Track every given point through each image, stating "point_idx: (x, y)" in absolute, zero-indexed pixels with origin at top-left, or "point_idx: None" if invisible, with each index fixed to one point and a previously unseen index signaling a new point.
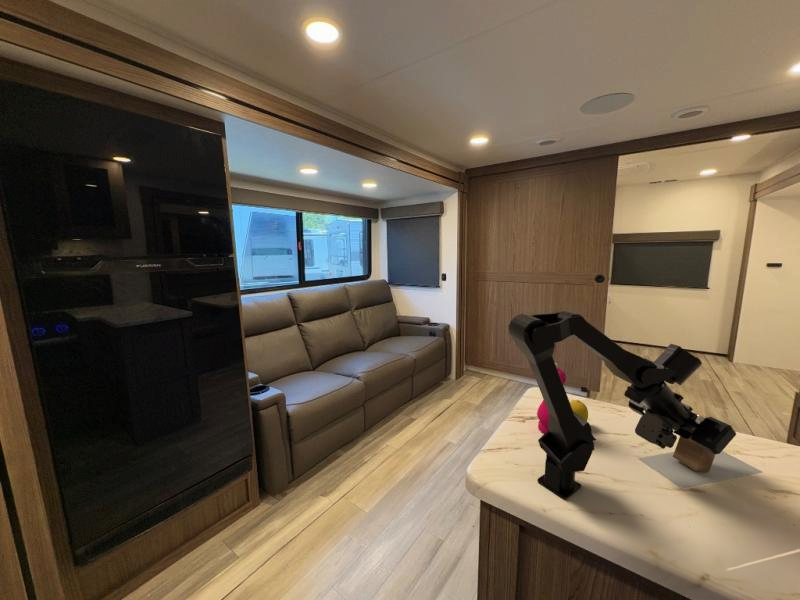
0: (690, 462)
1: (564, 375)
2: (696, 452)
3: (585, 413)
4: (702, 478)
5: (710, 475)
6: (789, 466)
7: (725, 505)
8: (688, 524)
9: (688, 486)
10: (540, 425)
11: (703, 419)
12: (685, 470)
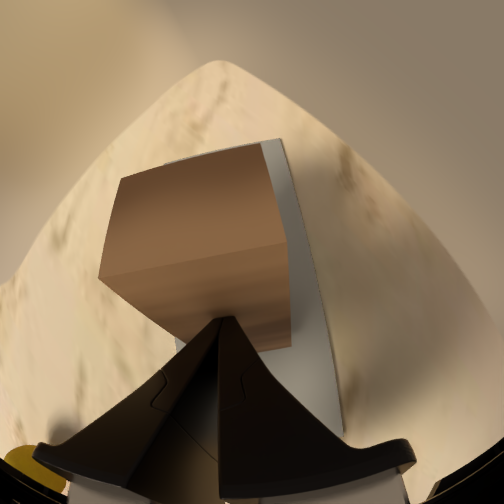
0: (266, 347)
1: None
2: (270, 334)
3: (41, 480)
4: (308, 336)
5: (295, 295)
6: (256, 82)
7: (404, 359)
8: (430, 476)
9: (339, 410)
10: None
11: (409, 463)
12: (266, 357)
